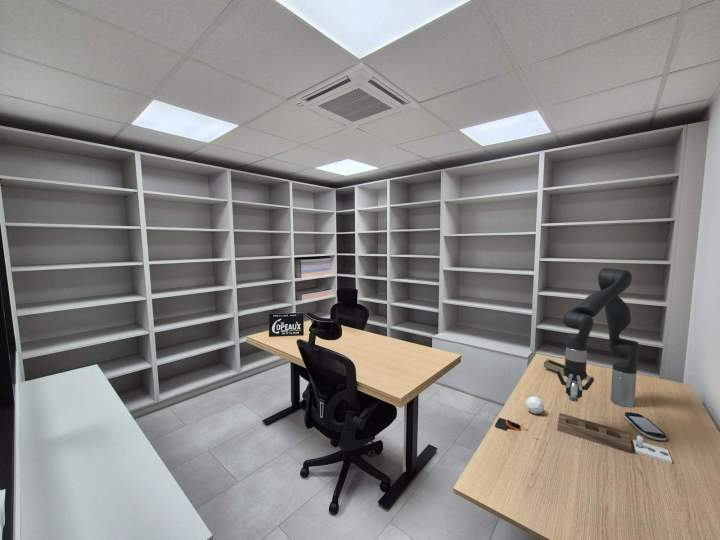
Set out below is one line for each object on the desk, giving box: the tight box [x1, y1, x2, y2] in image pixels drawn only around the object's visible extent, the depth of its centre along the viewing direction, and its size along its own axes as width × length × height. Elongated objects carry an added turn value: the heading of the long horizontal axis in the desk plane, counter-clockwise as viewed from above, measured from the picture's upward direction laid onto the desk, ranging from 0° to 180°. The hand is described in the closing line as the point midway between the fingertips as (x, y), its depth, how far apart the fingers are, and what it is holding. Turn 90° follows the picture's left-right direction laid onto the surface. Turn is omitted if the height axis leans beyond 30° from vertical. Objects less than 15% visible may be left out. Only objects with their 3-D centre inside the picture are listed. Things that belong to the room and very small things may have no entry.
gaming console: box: [623, 411, 668, 442], centre depth 132 cm, size 19×9×2 cm, turn 163°
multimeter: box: [494, 417, 540, 441], centre depth 132 cm, size 18×12×3 cm, turn 48°
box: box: [543, 358, 587, 381], centre depth 187 cm, size 8×22×5 cm, turn 45°
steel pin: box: [568, 381, 579, 403], centre depth 130 cm, size 3×3×8 cm
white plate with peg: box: [632, 435, 673, 465], centre depth 116 cm, size 8×10×5 cm
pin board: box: [557, 412, 632, 454], centre depth 128 cm, size 11×24×3 cm, turn 53°
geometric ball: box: [525, 395, 545, 415], centre depth 145 cm, size 8×8×8 cm
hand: (573, 396), depth 131 cm, fingers closed on steel pin, 3 cm apart
